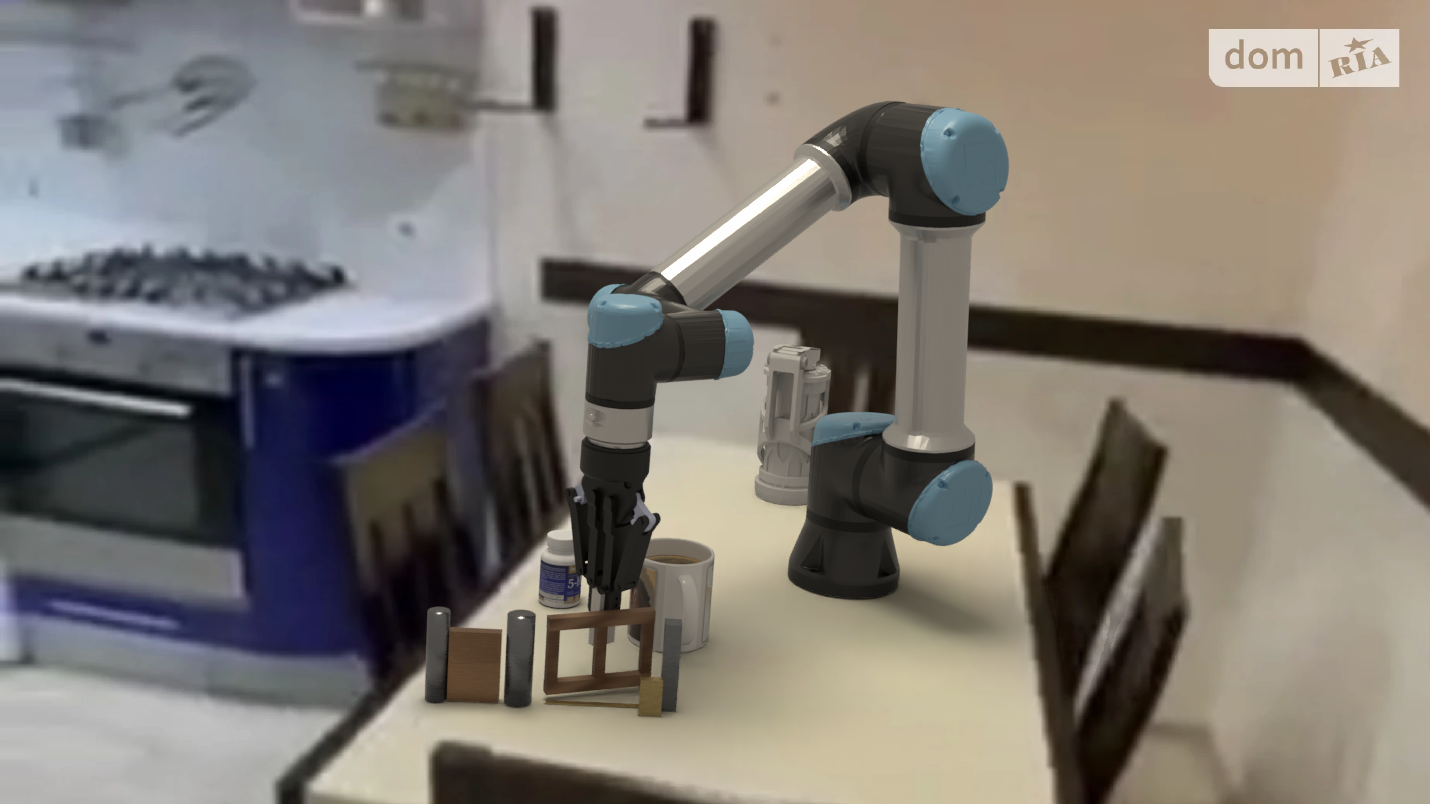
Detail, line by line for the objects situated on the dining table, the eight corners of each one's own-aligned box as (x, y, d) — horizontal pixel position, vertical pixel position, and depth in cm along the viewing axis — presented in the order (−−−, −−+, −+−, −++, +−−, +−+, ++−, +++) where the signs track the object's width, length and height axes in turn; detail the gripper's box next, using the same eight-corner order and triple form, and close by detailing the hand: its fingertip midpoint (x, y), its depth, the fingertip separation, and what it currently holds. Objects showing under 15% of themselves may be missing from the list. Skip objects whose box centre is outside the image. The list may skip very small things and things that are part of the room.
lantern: (764, 482, 257) (777, 331, 251) (826, 493, 254) (841, 340, 248) (739, 503, 245) (752, 345, 239) (804, 514, 242) (818, 355, 236)
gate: (546, 695, 171) (550, 619, 169) (543, 690, 172) (547, 615, 170) (650, 685, 176) (655, 610, 174) (646, 680, 177) (652, 606, 175)
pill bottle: (573, 611, 197) (577, 544, 195) (533, 605, 198) (536, 538, 196) (585, 597, 202) (589, 531, 200) (545, 591, 203) (549, 525, 201)
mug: (724, 632, 194) (731, 547, 192) (691, 667, 183) (698, 577, 180) (644, 616, 197) (650, 532, 195) (607, 650, 186) (612, 561, 184)
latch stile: (675, 704, 173) (681, 619, 171) (676, 717, 170) (683, 630, 168) (637, 703, 173) (643, 617, 170) (638, 715, 170) (644, 628, 167)
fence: (656, 701, 173) (662, 616, 171) (656, 713, 171) (663, 626, 168) (426, 691, 172) (429, 605, 169) (423, 703, 169) (426, 615, 166)
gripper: (550, 429, 172) (537, 631, 178) (633, 459, 164) (617, 670, 169) (600, 420, 177) (586, 616, 183) (684, 448, 169) (666, 653, 175)
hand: (601, 642), depth 176 cm, fingers closed
